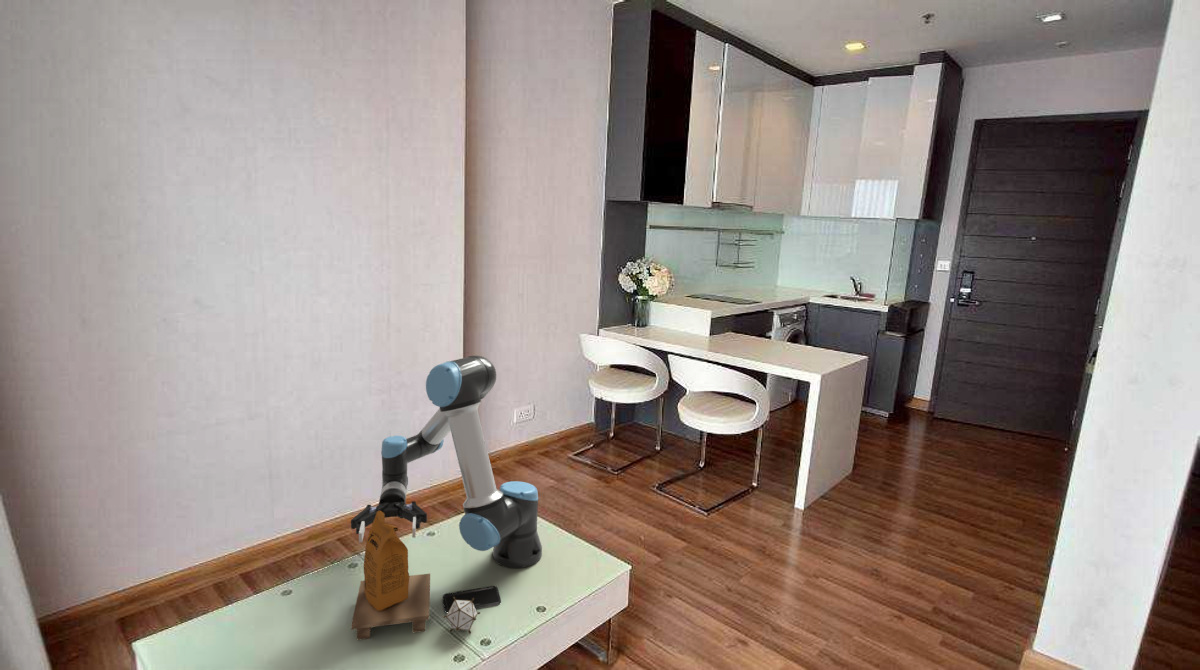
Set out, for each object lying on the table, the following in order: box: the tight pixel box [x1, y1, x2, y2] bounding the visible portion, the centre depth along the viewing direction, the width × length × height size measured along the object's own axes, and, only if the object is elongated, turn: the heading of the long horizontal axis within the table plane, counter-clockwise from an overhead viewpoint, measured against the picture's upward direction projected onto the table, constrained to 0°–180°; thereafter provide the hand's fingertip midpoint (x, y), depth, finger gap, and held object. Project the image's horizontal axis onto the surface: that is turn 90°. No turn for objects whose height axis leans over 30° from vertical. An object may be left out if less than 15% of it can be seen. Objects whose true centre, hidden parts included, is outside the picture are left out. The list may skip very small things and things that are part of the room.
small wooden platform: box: [350, 573, 431, 641], centre depth 152 cm, size 18×18×5 cm
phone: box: [442, 585, 502, 612], centre depth 159 cm, size 8×1×15 cm
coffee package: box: [363, 511, 410, 611], centre depth 150 cm, size 10×12×22 cm
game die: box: [442, 597, 481, 634], centre depth 147 cm, size 9×8×10 cm
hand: (387, 535), depth 157 cm, fingers open, 13 cm apart
